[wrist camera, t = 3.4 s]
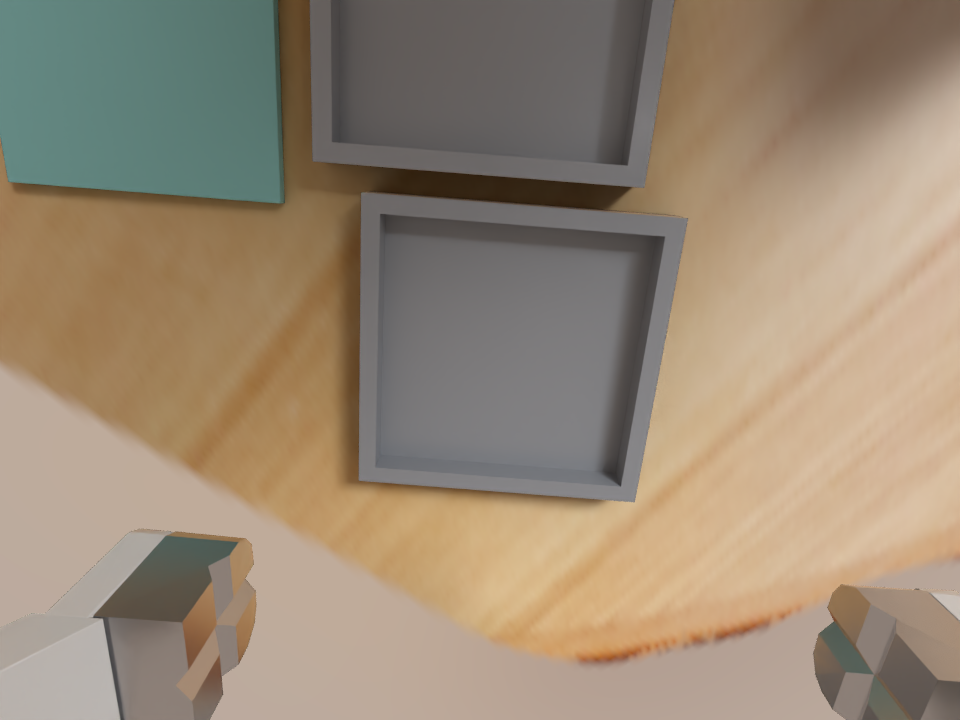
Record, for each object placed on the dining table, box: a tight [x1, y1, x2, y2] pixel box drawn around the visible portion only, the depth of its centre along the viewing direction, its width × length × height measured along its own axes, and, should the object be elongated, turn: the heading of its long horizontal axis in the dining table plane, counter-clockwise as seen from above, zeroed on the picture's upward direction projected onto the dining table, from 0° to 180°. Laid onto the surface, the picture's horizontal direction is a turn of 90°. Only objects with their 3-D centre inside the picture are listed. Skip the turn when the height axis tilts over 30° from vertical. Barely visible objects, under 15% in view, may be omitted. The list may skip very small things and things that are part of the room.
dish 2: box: [359, 191, 688, 502], centre depth 20 cm, size 10×10×1 cm
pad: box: [0, 0, 285, 203], centre depth 17 cm, size 9×9×1 cm
